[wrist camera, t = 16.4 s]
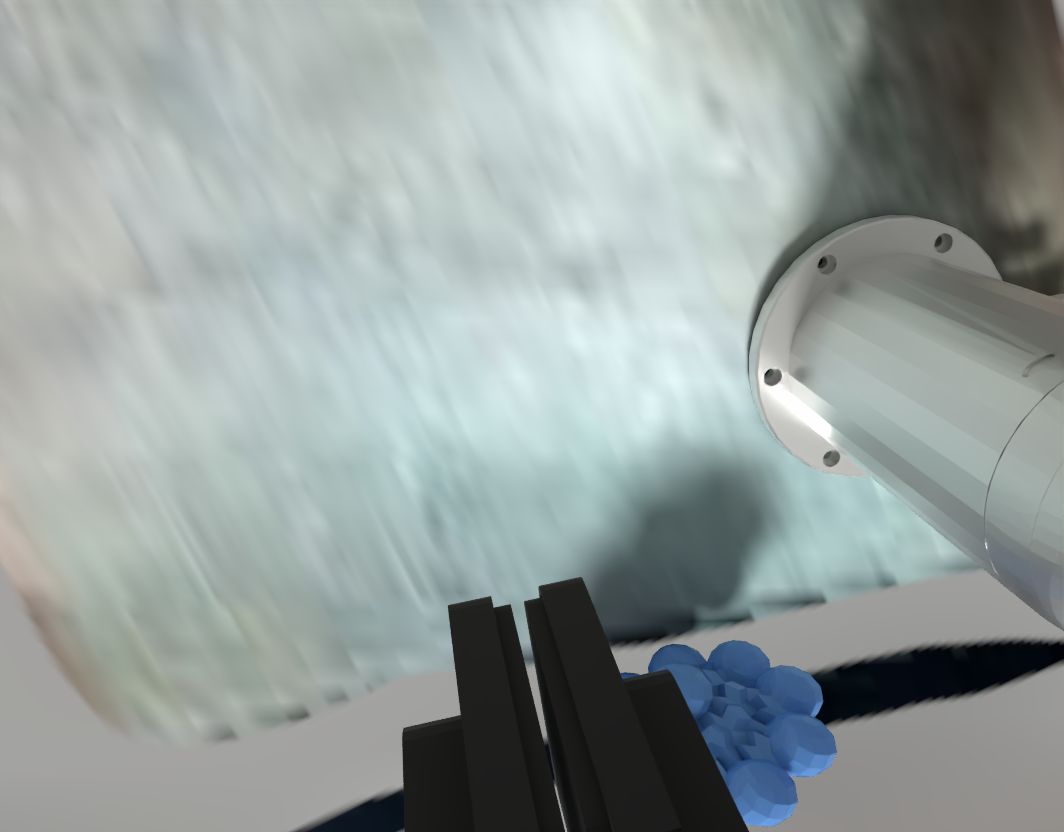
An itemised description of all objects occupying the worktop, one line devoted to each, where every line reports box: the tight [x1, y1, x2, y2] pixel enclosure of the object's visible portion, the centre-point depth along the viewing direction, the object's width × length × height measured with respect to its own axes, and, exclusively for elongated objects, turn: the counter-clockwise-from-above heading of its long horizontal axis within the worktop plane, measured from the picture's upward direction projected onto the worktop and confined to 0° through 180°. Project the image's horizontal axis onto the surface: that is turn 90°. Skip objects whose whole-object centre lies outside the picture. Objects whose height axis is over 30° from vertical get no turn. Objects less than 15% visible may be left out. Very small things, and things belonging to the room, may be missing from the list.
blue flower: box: [620, 640, 837, 827], centre depth 41 cm, size 12×7×12 cm, turn 116°
